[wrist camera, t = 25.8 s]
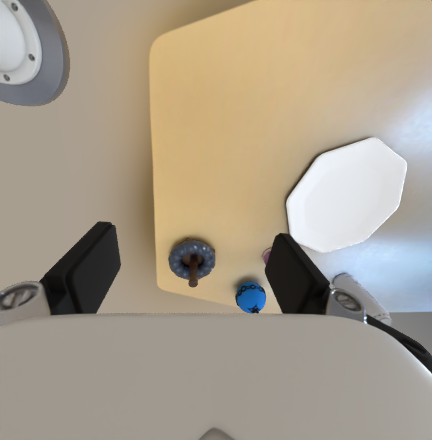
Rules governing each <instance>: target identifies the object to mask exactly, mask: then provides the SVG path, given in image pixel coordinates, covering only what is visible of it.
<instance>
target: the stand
mask: <svg viewBox="0 0 432 440" xmlns="http://www.w3.org/2000/svg"><path fill="white" fill-rule="evenodd" d="M186 241H194V240H192V239H190V238H187V239H186ZM211 250H212V251H213V252H214V253H215V250H214V249H212V248H211ZM181 263H182V264H183V265H184V266H186V267H189V286H190V287H196V286H197V285H198V266H200V265H202V263H203V258H202V257H201V255H198V254H195V253H191V254H186V255H185V256H183V257H182V259H181Z"/></svg>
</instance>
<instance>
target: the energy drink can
mask: <svg viewBox="0 0 432 440" xmlns="http://www.w3.org/2000/svg"><path fill="white" fill-rule="evenodd" d="M333 282H334V287H335V288H340V289H344V290H346V291H349V292H350V293H352V294H354V295H355V296H356V297H358V298H359V299H360V300H361V301H362V303H363V304H364V306H365V309H366V314H368V315H370V316H372V317H373V318H375V319H377V320H379V321H381V322H383V323H384V324H386V325H388V326H390V325H391V324H392V322H393V321H392V320H391V319H390V316H389V313H388V312H387V311H386V310H385V309H384V308H383V307H382V306H381V305H380V304H379V303H378V302H377V301H376V300H375V299H374V298H373V297H372V296H371V295H370V294H369V293H368V292H367V291H366V290H365V289H364V288H363V287H362V286H361V285H360V284H359V283H358V282H357V281H356V280H355V279H354V278H353V277H352V276H351V275H348V274H340V275H338V276H337V277H335V279H334V281H333Z"/></svg>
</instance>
